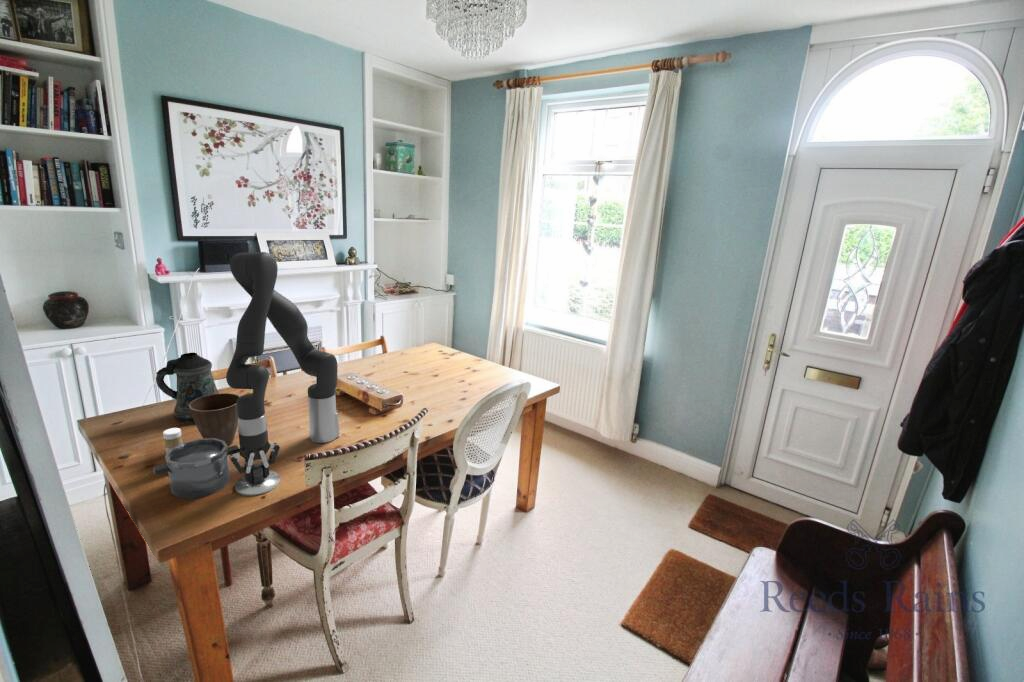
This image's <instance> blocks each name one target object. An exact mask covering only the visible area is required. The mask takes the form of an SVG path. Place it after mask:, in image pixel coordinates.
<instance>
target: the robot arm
mask: <svg viewBox="0 0 1024 682" xmlns="http://www.w3.org/2000/svg"><path fill="white" fill-rule="evenodd" d="M229 267H230V268H229V269H230V273H231V275H232V276H233V278H234V280H235V282H237V283H238V284H239V286H241V287H242V289H243V290H244V291H245V292H246V293H247V294H248V295H249V296H250V297H251V299H250V302H249V304H248V306H247V307H246V309H245V311H244V313H243V314H242V316H241V317H240V319H239V323H238V325H237V331H236V341H235V349H234V353H233V357H232V359H231V362H230V364H229V366H228V369H227V372H226V375H225V376H226V377H225V379H226V382H227V385H228V386H229V387H230V388H231V389H235V390H236V389H237V390H252V393H246V394H243V395H240V396H239V398H238V399H237V414H238V425H237V430H238V431H237V432H238V441H239V451H238V453H236V454H232V455H228V456H229V457H228V459H229V460H230V462H231V463H232V464H233V466H234V467H235V469H236V471H238V473H239V474H243V473H244V476H245V479H246V481H247V482H249V483H252V472H251V466H252V465H254V464H253V463H254V462H255V461H258V460H259V461H260V462H261V464H263V468H264V478H265V479H266V478H267V476H269V471H270V466H271V465H274V464H275V463H276V460H277V458H278V455H279V452H280V448H281V446H280V445H279V444H278V443H277V442H273V443H270V442H269V433H268V432H269V431H268V422H267V421H268V420H267V416H266V408H265V407H266V406H265V397H266V390H267V386H268V383H269V380H270V379H269V378H270V373H269V370H268V369H267V368H266V366H264V365H261V364H247V361H248V360H249V359H250V358H252V357H253V358H254V357H259V356H262V355H263V354H264V351H265V339H266V337H265V336H266V327H267V326H266V325H267V319H268V320H269V322H270V324H271V325H272V327H273V328H274V329H275V331H276V332H277V334H279V336H280V337H281V338H282V340H283V341H284V342H285V344H286V345H287V347H288V348H289V349H290V351H291V352H292V354H293V356H294V357H295V359H296V361H297V363H298V365H299V367H300V369H301V370H302V372H304V373H305V374H307V375H308V376H312V377H315V378H316V381H315V383H313V384H311V385H309V386H308V388H307V403H308V404H307V405H308V406H307V407H308V420H309V422H308V423H309V424H308V425H309V437H310V438H309V439H310V441H312V442H313V443H316V444H325V443H329V442H332V441H334V440H336V439H337V438H339V437H340V423H339V421H340V420H339V413H338V412H337V404H336V403H337V402H336V388H337V385H338V361H337V357H336V356H335V355H334V354H333V353H330V352H325V351H322V350H319V349H317V348H316V347H315V345H313V343H312V342H311V341H310V339H309V337H308V333H309V332H308V322H307V320H306V318H305V317H304V315H303V314H302V312H301V310H300V309H299V307H298V306H297V305H296V304H295V303H294V302H293V301H291V300H290V299H289V298H287V297H286V296H285V295H282V294H281V293H279V292H278V291H277V290H275V286H276V283H277V277H278V271H279V270H278V264H277V260H276V258H275V257H274V256H273V255H272V254H271V253H269V252H264V251H258V252H256V251H254V252H253V251H251V252H248V251H247V252H239V253H236V254H234V255H233V256H232V257H231V259H230V262H229ZM269 451H270V453H269V456H268V458H267V456H266V455H267V454H268V452H269ZM240 457H241V458H242V459H244V461H243V462H244V466H242V465H241V464H240V463H239V461H240Z"/></svg>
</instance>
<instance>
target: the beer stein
mask: <svg viewBox="0 0 1024 682" xmlns="http://www.w3.org/2000/svg"><path fill="white" fill-rule="evenodd" d="M212 366H213V363H212V361H210V359H207V358H204V357H202V356H200V355H199V354H198V353H197V352H188V353H187V352H186V353H182V354H180V357H178V358H174V359H169V360H168V361H167V362H166V366H165V367H162V368H160V369H159V370H158V371H157V372H156V376H155V382H156V385H157V387H158V388H159V390H160V391H161V392H162V393H164V394H165V395H167V396H168V397H169V398H172V399H174V400H176V403H175V407H174V408H173V409H174V410H173V414H174V416H175V418H176V421H178V422H179V423H182V424H187V425H188V424H191V425H193V424H195V422H194V419H193V417H192V414H191V411H190V408H189V404H190V403H191V402H192V401H193V400H195V399H197V398H200V397H203V396H207V395H212V394H220V393H219V391H218V388H217V385H216V383H215V379H214V376H213V374H212V368H213V367H212ZM171 375H172V376H173V375H176V390H174V389H173V388H171V387H170V386H168V385H167V383H165V377H166V376H171ZM195 425H196V424H195Z"/></svg>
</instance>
